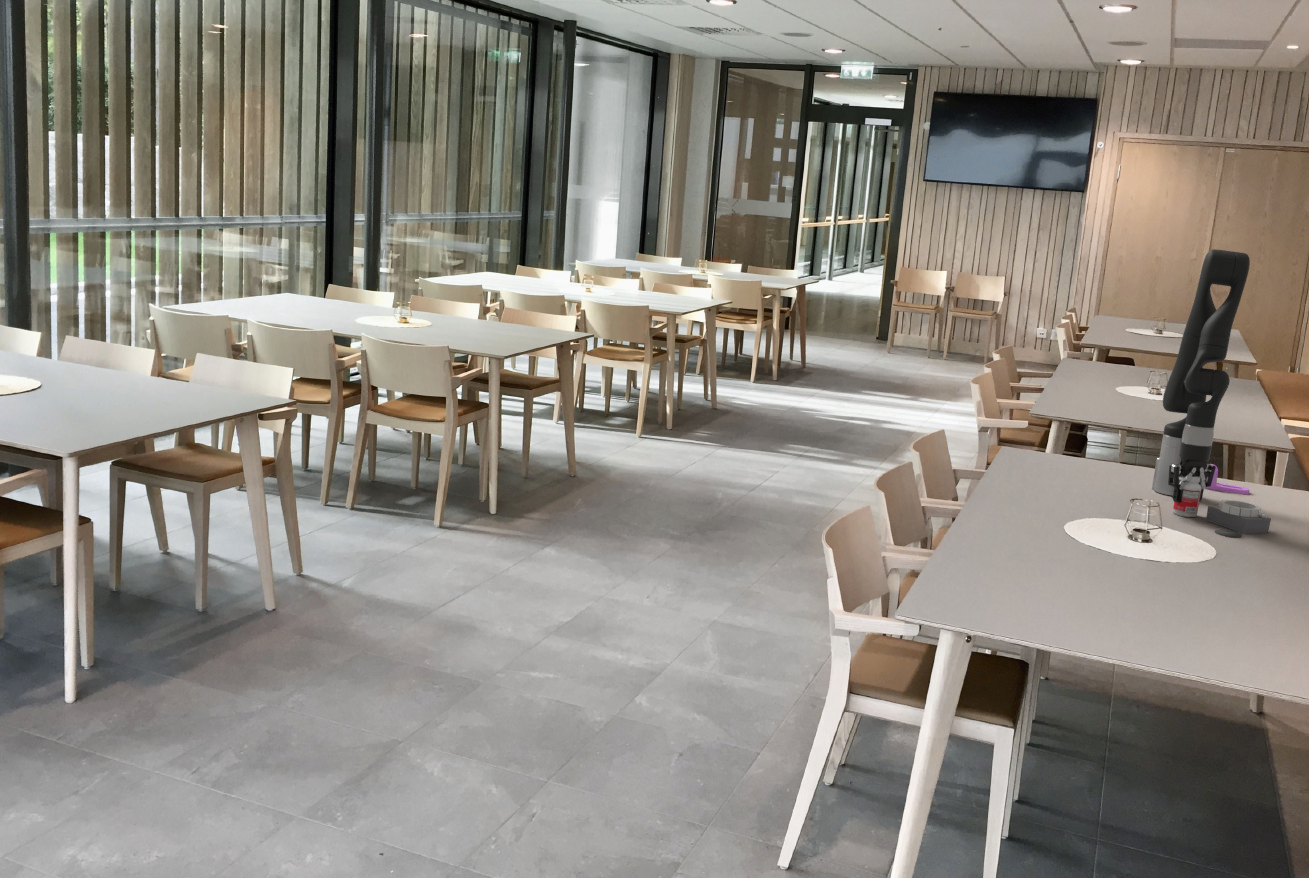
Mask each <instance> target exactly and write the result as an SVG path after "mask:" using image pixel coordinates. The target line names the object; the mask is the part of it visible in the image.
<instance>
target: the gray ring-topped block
mask: <svg viewBox="0 0 1309 878" xmlns="http://www.w3.org/2000/svg"><path fill="white" fill-rule="evenodd" d="M1267 515H1268V514H1267V513H1262V507H1261V506H1259V505H1258V504H1256V503H1251V502H1248V501H1242V500H1234V499H1221V500H1220V501H1219V505H1217V504H1216V505H1207V511H1206V517H1205V521H1208V522H1210V523H1212V524H1216V525H1217V526H1218V525H1219V526H1222V527H1224V528H1227V529H1228V530H1232V531H1236V532H1239V533H1241V534H1242V535H1248V534H1249V535H1253V534H1254V535H1255V534H1257V535H1258V534H1269V531H1270V525H1271V521H1272V518H1271V517H1268V516H1267Z"/></svg>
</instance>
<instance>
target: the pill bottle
mask: <svg viewBox="0 0 1309 878" xmlns="http://www.w3.org/2000/svg"><path fill="white" fill-rule="evenodd" d="M1182 478H1185V477H1184V476H1182ZM1181 482H1182V481H1181ZM1181 482H1180V483H1181ZM1199 482H1200V477H1191V478H1190V480H1189V482H1188V483H1186V484H1185V486H1184V487H1183V489H1182V490H1183V494H1182V500H1181V503H1177V502H1174V501H1173V506H1172V513H1173V514H1174V515H1176V516H1180V517H1184V518H1194V517H1197V516H1198V511H1199V505H1200V502H1199V501H1200V495H1201V489H1202V488H1201V486H1200V485H1199V484H1198V483H1199ZM1180 483H1179V484H1180Z"/></svg>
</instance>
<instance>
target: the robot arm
mask: <svg viewBox="0 0 1309 878" xmlns="http://www.w3.org/2000/svg"><path fill="white" fill-rule="evenodd" d="M1250 259H1251V258H1250V257H1249V255H1248V254H1247V253H1245V252H1240V251H1232V250H1226V249H1225V250H1224V249H1223V250H1222V249H1215V248H1213V249H1210V250H1209V251H1208V252H1207V253H1206V255H1205V256H1204V260H1203V263H1202V267H1201V271H1200V275H1199V279H1198V283H1197V288H1196V290H1195V291H1196V292H1195V297H1194V300H1193V303H1192V306H1191V309H1190V312H1189V313H1190V314H1189V317H1188V318H1187V321H1186V325H1185V327H1184V331H1183V334H1182V337H1181V342H1180V344H1179V345H1180V347H1179V349H1178V353H1177V357H1176V359H1175V363H1174V366H1173V369H1172V370H1171V373H1170V376H1169V378H1168V380H1167V384H1166V386H1165V389H1164V393H1163V395H1162V406H1163V409H1164V410H1165V411H1166V412H1170V413H1178V414H1186V416H1185V417H1184V418H1183V419H1180V420H1178V421H1173V422H1169V423H1167V424H1165V425H1164V429H1163V435H1162V441H1161V447H1160V453H1159V457H1157V458H1156V460H1155V467H1154V474H1153V478H1152V479H1153V480H1152V485H1151V490H1154V491H1155V492H1156V493H1159V494H1163V495H1166V496H1172V500H1173V503H1174V502H1177V503H1181V500H1182V494H1183V490H1182V489H1183V487H1184V486H1185V484H1186V483H1188V482H1189V480H1190V478H1191V477H1200V482H1199V483H1198V484H1199V485H1200V486H1201V488H1202V489H1201V495H1200V501H1199V503H1201V501H1202V500H1203V496H1204V492H1205V491H1204V490H1205V488H1206V487H1210V486H1211V483H1212V480H1213V476H1214V472H1215V469H1216V466H1217V465H1216V466H1214V465H1215V464H1214V465H1211V464H1212V463H1207V462H1209V460H1210V459H1211V455H1212V454H1211V452H1212V447H1213V441H1214V432H1215V431H1214V430H1215V424H1216V418H1217V413H1218V410H1219V406H1220V404H1221V401H1222V400H1223V398H1224V395H1225V393H1226V392H1227V390H1228V388H1229V385H1230V381H1231V379H1230V376H1229V374H1228V373H1227V372H1226V371H1225V370H1221V369H1214V368H1213V369H1212V368H1204V366H1205V365H1207V364H1209V363H1217V362H1219V363H1220V362H1222V361H1225V359H1226V358H1227V353H1228V349H1229V344H1230V339H1231V332H1232V328H1233V324H1234V320H1235V318H1236V315H1237V312H1238V309H1239V306H1240V303H1241V299H1242V295H1243V292H1244V290H1245V286H1246V283H1247V279H1248V275H1249V270H1250V265H1251V264H1250V263H1251V262H1250V261H1251V260H1250ZM1212 285H1218V286H1225V287H1230V289H1229V292H1228V294H1227V297H1226V298H1225V300H1224V302H1222V304H1221V305H1220V306H1219V307H1218V308H1216V305H1215V303H1214V300H1213V297H1212V292H1211V287H1212ZM1207 396H1211V398H1210V399H1209V400H1208V401H1207ZM1182 476H1184V477H1185V478H1182ZM1207 477H1208V480H1207ZM1206 480H1207V481H1206ZM1181 481H1182V482H1181ZM1180 482H1181V483H1180ZM1179 483H1180V484H1179Z"/></svg>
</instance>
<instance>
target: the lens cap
mask: <svg viewBox="0 0 1309 878" xmlns="http://www.w3.org/2000/svg"><path fill="white" fill-rule="evenodd" d="M1214 533H1215V534H1216V535H1218V536H1222V537H1225V538H1234V539H1240V538H1242V537H1243V533H1240V532H1238V531H1235V530H1232V529H1226V528H1217V529H1214Z"/></svg>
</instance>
